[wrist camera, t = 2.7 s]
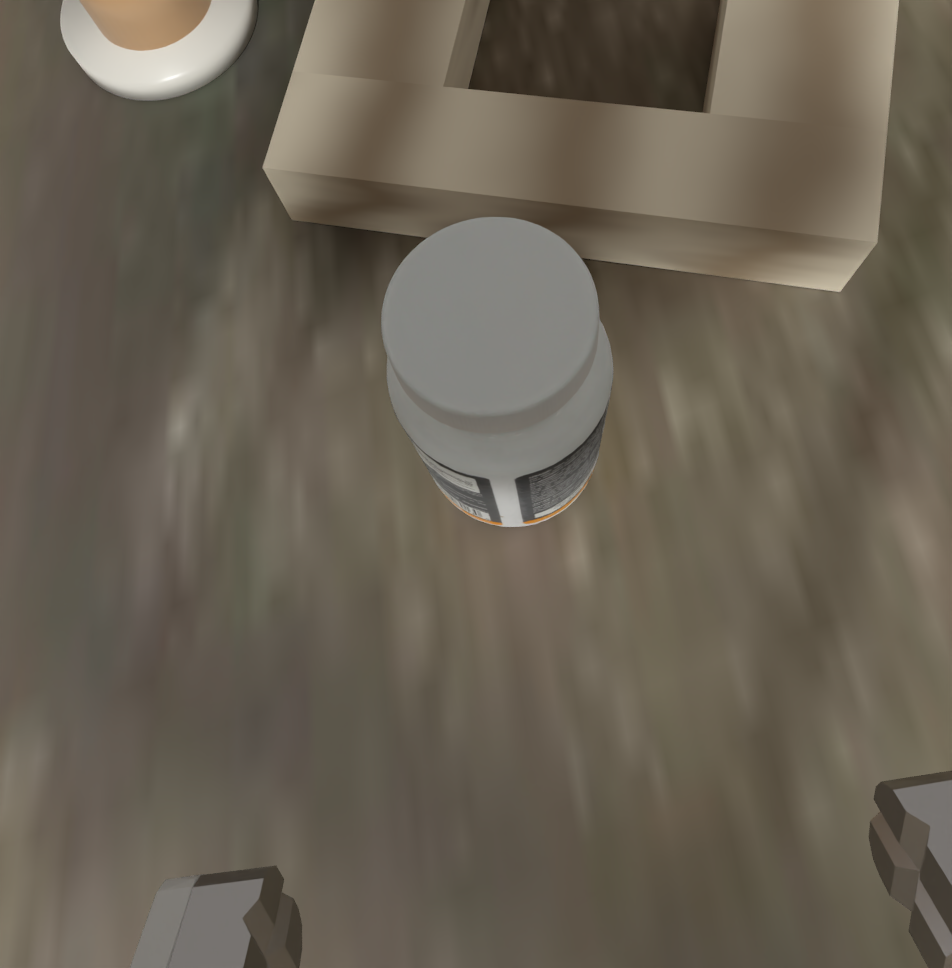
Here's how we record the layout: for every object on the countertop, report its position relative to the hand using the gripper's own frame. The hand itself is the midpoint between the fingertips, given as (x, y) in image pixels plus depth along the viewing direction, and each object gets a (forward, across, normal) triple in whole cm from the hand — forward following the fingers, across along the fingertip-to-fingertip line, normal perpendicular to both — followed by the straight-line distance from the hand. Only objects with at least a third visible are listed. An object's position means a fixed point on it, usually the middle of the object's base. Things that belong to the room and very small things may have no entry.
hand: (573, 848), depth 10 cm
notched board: (+25, -5, -7) cm, 27 cm away
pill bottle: (+16, 0, +2) cm, 16 cm away
